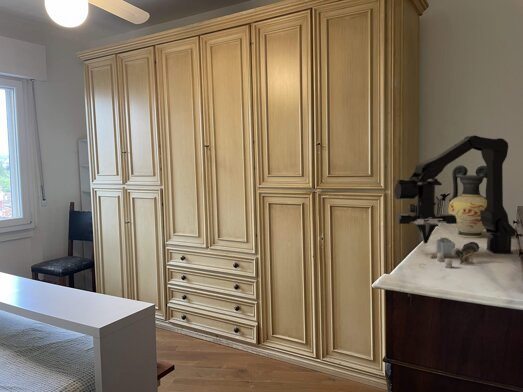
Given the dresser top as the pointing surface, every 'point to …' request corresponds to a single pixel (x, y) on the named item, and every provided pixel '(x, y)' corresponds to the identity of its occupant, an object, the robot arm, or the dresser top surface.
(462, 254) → the eagle figurine
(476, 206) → the amphora
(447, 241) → the block
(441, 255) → the pin seat fixture
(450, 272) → the dresser top surface
